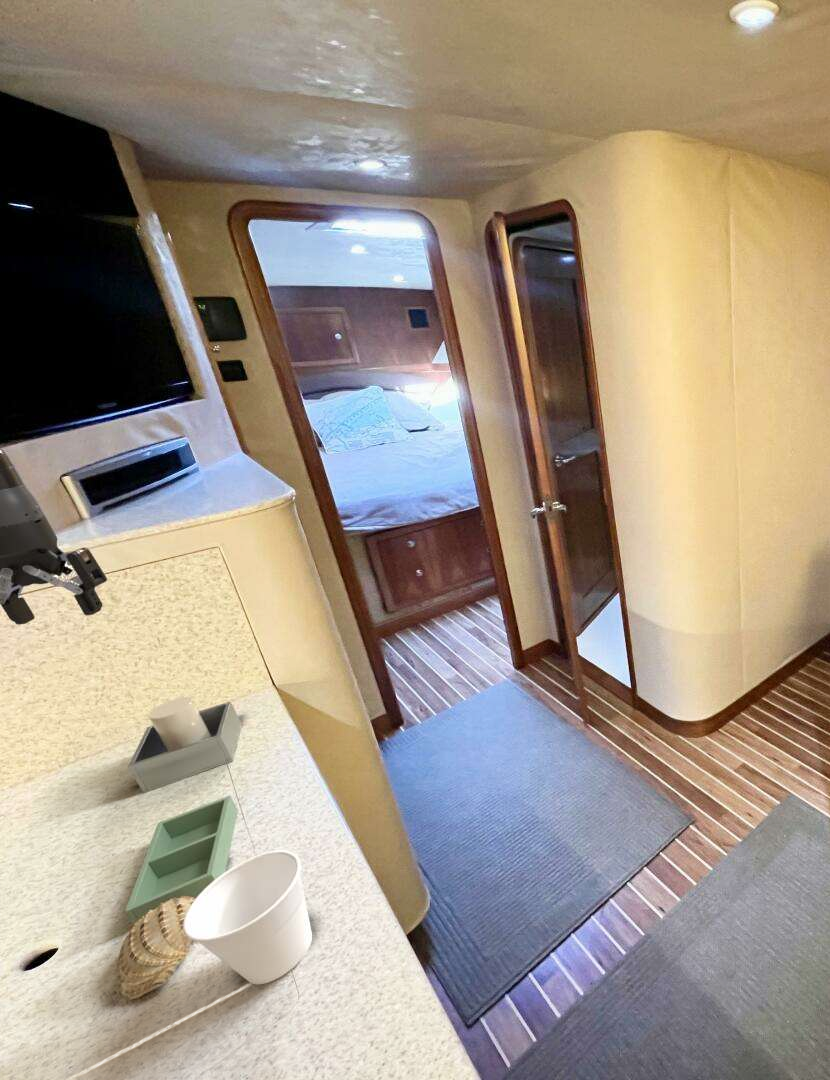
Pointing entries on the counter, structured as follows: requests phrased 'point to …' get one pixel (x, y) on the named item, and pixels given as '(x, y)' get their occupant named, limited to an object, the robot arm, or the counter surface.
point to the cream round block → (179, 723)
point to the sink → (186, 751)
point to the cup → (254, 917)
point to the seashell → (153, 948)
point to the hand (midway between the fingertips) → (60, 617)
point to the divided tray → (184, 856)
